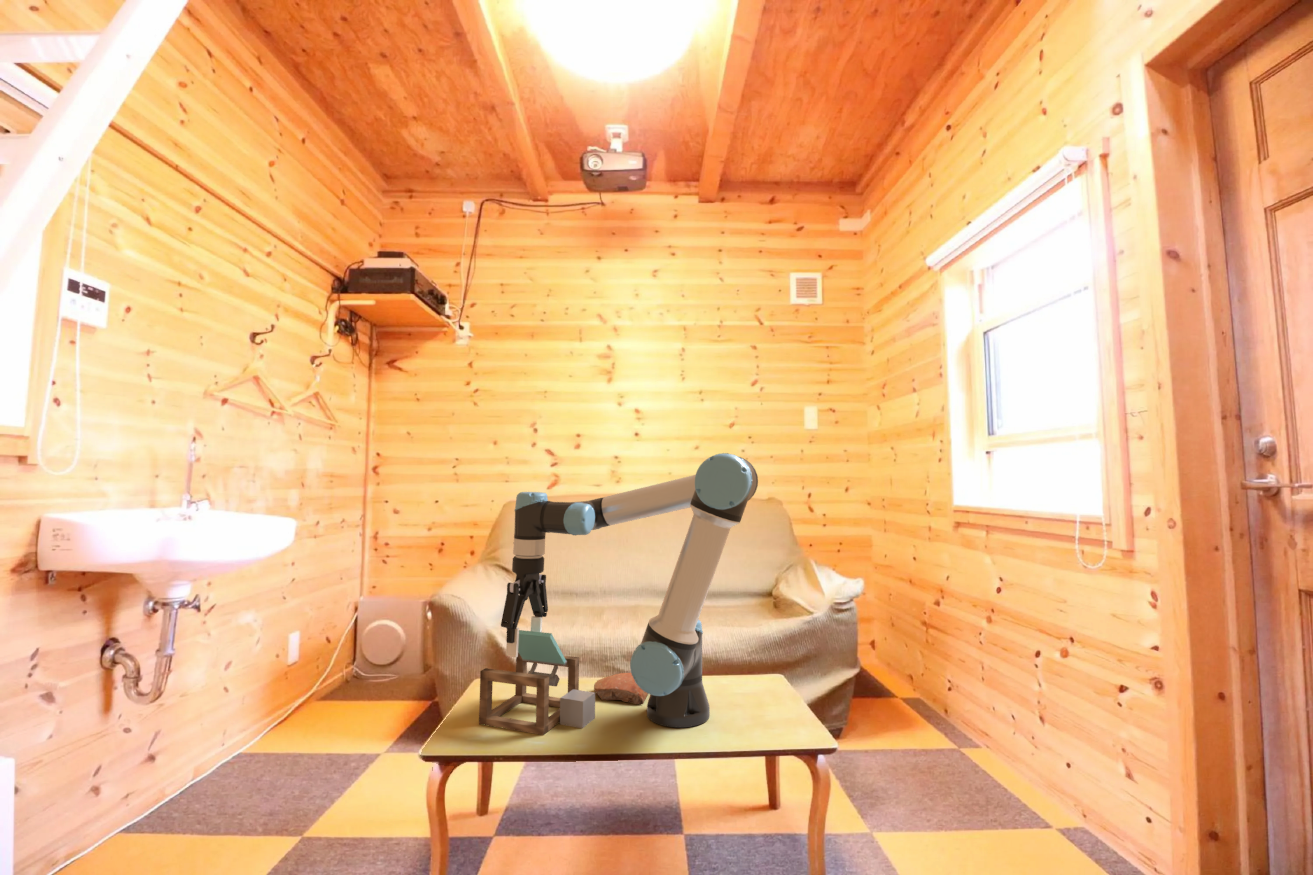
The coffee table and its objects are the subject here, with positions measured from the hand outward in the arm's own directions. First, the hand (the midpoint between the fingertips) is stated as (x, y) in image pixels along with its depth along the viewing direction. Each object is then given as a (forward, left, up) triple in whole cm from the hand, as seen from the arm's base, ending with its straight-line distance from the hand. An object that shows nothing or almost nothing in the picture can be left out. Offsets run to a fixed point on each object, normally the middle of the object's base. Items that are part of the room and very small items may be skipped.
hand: (524, 649), depth 136 cm
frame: (-1, -2, -16) cm, 16 cm away
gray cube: (-13, -3, -16) cm, 21 cm away
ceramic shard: (-16, -23, -16) cm, 33 cm away
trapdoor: (-1, -2, -5) cm, 5 cm away
